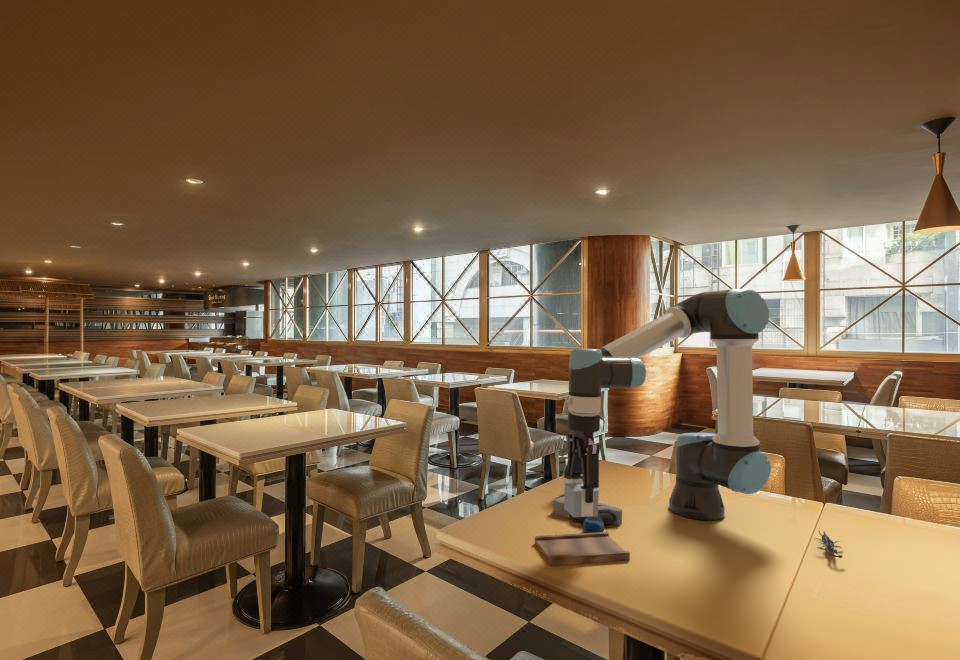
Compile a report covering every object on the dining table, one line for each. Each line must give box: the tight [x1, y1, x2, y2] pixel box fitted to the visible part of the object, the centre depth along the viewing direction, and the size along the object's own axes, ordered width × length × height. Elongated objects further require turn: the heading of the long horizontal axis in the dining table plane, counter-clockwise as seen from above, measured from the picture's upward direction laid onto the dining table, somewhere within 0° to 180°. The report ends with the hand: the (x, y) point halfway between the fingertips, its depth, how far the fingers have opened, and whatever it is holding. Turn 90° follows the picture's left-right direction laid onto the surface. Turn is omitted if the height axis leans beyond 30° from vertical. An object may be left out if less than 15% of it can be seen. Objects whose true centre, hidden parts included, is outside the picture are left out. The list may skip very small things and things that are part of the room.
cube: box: [564, 483, 600, 517], centre depth 121 cm, size 6×6×6 cm
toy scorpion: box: [815, 527, 843, 559], centre depth 124 cm, size 6×18×5 cm, turn 150°
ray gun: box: [552, 495, 623, 533], centre depth 140 cm, size 4×19×15 cm
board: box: [534, 531, 631, 567], centre depth 121 cm, size 19×12×2 cm, turn 101°
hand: (581, 510), depth 121 cm, fingers closed on cube, 6 cm apart
